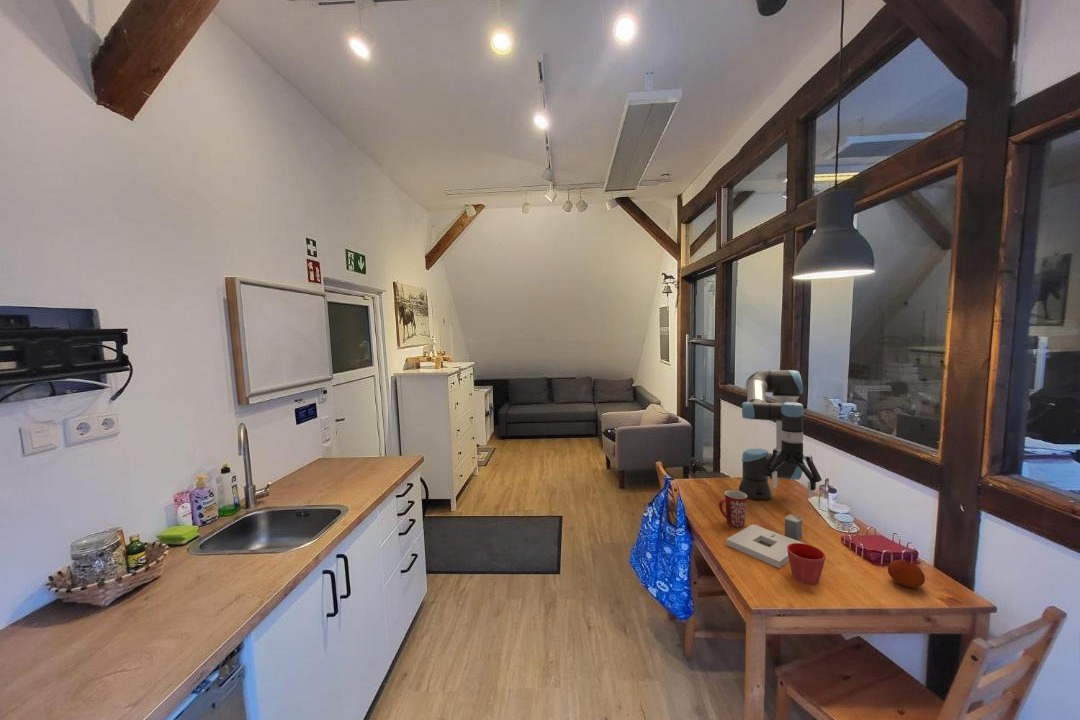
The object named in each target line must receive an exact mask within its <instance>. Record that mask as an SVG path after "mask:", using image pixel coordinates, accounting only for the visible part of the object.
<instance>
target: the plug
mask: <svg viewBox="0 0 1080 720" xmlns="http://www.w3.org/2000/svg"><path fill="white" fill-rule="evenodd" d="M784 536H786V537H789V538H792V539H794V540H797V541H800V539H802V537H803V518H802V517H799V516H796V515H795V514H794V515H793V514H791V513H790V514H788V515H786V516H785V517H784Z"/></svg>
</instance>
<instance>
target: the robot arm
mask: <svg viewBox="0 0 1080 720" xmlns="http://www.w3.org/2000/svg"><path fill="white" fill-rule="evenodd" d="M800 373H801V372H800V371H798V370H793V369H792V370H791V369H763V370H759V371H756V372H754V373H752V374H751V375H750V376H749V377H748V378H747V379H746V382H745V389H746V390H747V398H746V399H747V401H743V402H742V403H741V415H742V418H743V419H745V420H746V419H747V420H752V421H753V420H757V421H759V420H760V421H775V423H776V426H775V427H776V428H775V432H776V434H775V436H776V437H775V438H776V439H775V440H776V442H775V444H776V447H774V449H772V452H771V453H769V450H767V449H764V448H750V449H745V450H743V452H742V458H741V461H742V473H741V474H742V476H741V477H742V479H741V482H740V484H739V486H738V491H740V492H743V493H745V494H746V495H747V499H750V500H754V501H767V500H770V499H772V497H773V492H772V489H775V488H777V487H778V479H786V480H794V481H795V480H797V481H798V480H800V479H801V478H802V477H803V474H804V475H805V476H806V478H807V479H808V482H807V499H812V498H813V497H814V491H815V490H816V489H817V488H816V487H817V483H819V482H821V481H822V479H823V478H821V474H820V473H819V471H818V469H817V467H816V464H815V463H814V461H813V456H812V455H804V443H803V442H804V414H805V412H804V405H803V404H802V403H799V402H797V401H798V399H799V398H800V395H802V394H803V393H804V386H803V385H804V384H803V380H802V377H801V374H800ZM766 393H772V397H773V398H774V399H775V402H766V398H767V397H766ZM804 461H805V462H804ZM805 463H806V464H807V465H806V464H805ZM769 479H770V480H771V486H770V483H769ZM771 488H772V489H771Z"/></svg>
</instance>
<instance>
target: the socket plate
mask: <svg viewBox="0 0 1080 720" xmlns="http://www.w3.org/2000/svg"><path fill="white" fill-rule="evenodd" d="M792 543H803V544H806V543H805V542H802V541H800V540H794V539H792V538H789V537H786V536H785V535H784V534H780V533H778V532H775V531H772V530H770V529H766V528H764V527H761V526H759V525H757V524H754V523H752V524H750V525H748V526H747V527H745V528H744V529H742V530H740V531H738V532H736V533H735V534H733V535H731V536H729V537H727V538H726V546H727V547H730V548H732V549H735V550H737V551H740V552H741V553H744V554H746V555H748V556H751V557H753V558H755V559H757V560H759V561H762V562H764V563H767V564H769V565H771V566H774V567H776V568H778V569H781V568H782V567H784V566H785V565H786V564H787V563H790V562H789V557H788V551H787V546H788V545H789V544H792Z"/></svg>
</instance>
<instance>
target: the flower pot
mask: <svg viewBox="0 0 1080 720" xmlns="http://www.w3.org/2000/svg"><path fill="white" fill-rule="evenodd" d="M803 543H804V542H802V543H792V544H789V545H788V546H787V551H788V557H789V562H788V563H789V566H790V571H791V575H792V577H793V578H794V579H795V580H796V581H798V582H800V583H802V584H805V585H810V586H813V585H817V584H819V583H820V580H821V575H822V573H823V569H824V565H825V563H826V562H825V561H826V554H825V552H823V551H822V550H821V549H819V548H818V547H816V546H813V545H810V544H807V543H805V544H803Z"/></svg>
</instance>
